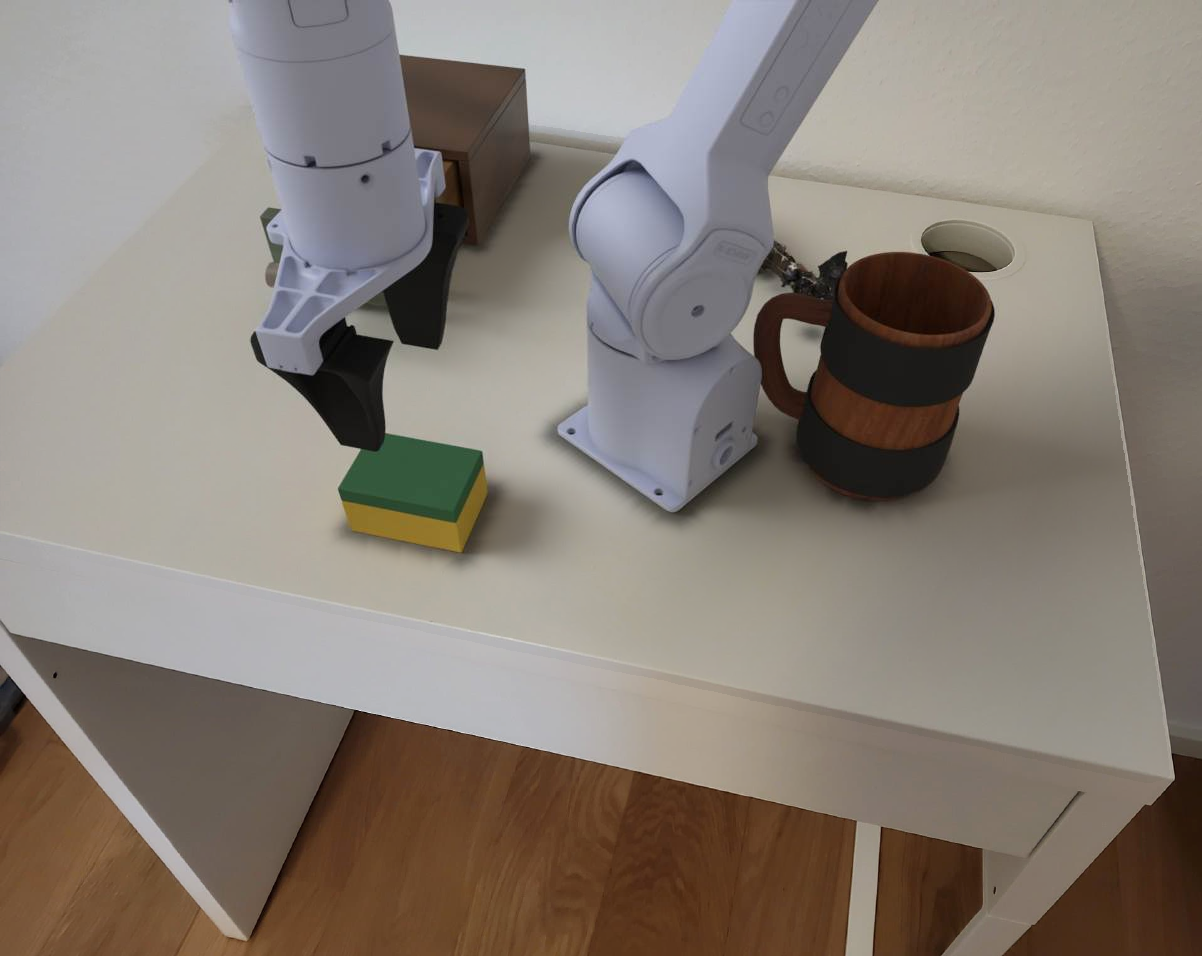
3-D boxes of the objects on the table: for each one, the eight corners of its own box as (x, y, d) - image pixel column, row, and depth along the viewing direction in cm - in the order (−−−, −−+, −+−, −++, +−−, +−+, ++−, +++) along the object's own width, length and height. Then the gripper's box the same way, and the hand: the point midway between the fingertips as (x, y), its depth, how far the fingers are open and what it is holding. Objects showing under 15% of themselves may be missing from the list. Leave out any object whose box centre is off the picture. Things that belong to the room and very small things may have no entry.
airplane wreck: (822, 356, 61) (839, 287, 57) (651, 228, 71) (654, 162, 67) (884, 324, 63) (904, 256, 59) (709, 205, 73) (716, 140, 69)
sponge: (461, 553, 50) (454, 511, 47) (350, 530, 51) (336, 488, 48) (488, 493, 53) (482, 450, 50) (382, 472, 54) (371, 429, 51)
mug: (752, 381, 59) (778, 221, 51) (945, 421, 57) (1006, 260, 48) (723, 475, 54) (746, 314, 45) (935, 524, 51) (1002, 362, 43)
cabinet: (478, 246, 70) (467, 151, 64) (336, 225, 72) (313, 131, 66) (530, 157, 79) (525, 68, 73) (403, 141, 80) (388, 52, 75)
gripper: (325, 45, 42) (377, 293, 52) (140, 215, 32) (248, 479, 42) (473, 63, 41) (497, 313, 51) (327, 244, 31) (392, 508, 41)
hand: (393, 390), depth 46 cm, fingers open, 7 cm apart
